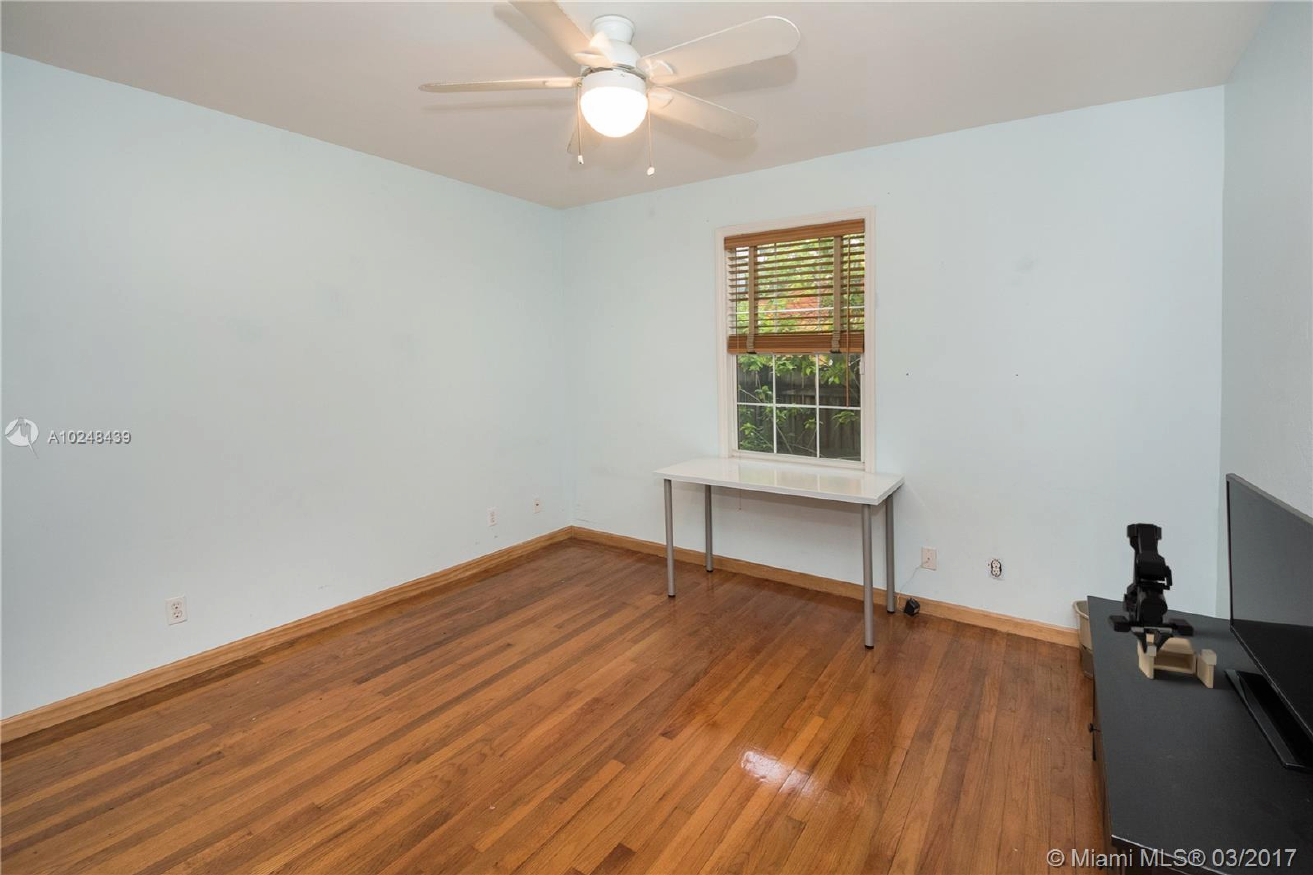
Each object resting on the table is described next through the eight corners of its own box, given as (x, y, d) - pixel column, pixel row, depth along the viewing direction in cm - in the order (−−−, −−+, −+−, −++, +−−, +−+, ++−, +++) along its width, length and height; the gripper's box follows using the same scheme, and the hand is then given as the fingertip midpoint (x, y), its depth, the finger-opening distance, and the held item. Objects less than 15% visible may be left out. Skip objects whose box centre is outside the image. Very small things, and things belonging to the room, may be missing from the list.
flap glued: (1145, 667, 179) (1145, 636, 178) (1155, 679, 173) (1156, 646, 171) (1137, 666, 180) (1137, 635, 178) (1147, 678, 173) (1147, 646, 172)
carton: (1137, 652, 187) (1137, 632, 187) (1187, 659, 181) (1188, 639, 180) (1142, 666, 180) (1143, 645, 179) (1195, 674, 174) (1196, 653, 173)
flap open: (1206, 687, 167) (1207, 654, 165) (1194, 675, 173) (1196, 643, 171) (1215, 688, 166) (1216, 654, 165) (1203, 676, 172) (1204, 643, 171)
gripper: (1177, 592, 176) (1176, 642, 178) (1101, 589, 182) (1101, 637, 184) (1196, 608, 165) (1194, 661, 167) (1115, 604, 172) (1114, 655, 174)
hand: (1149, 653), depth 174 cm, fingers closed on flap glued, 2 cm apart
